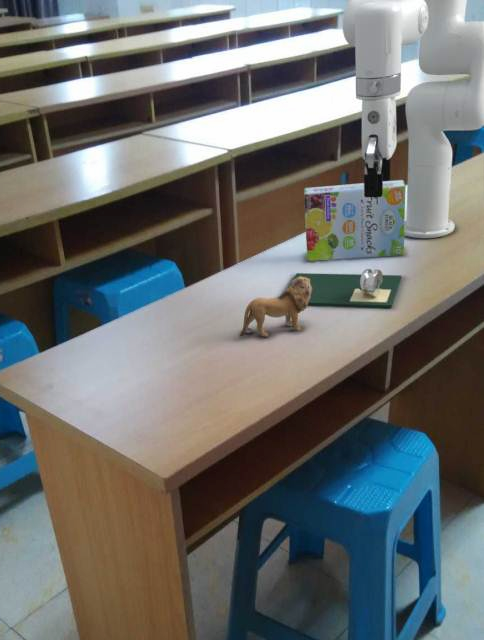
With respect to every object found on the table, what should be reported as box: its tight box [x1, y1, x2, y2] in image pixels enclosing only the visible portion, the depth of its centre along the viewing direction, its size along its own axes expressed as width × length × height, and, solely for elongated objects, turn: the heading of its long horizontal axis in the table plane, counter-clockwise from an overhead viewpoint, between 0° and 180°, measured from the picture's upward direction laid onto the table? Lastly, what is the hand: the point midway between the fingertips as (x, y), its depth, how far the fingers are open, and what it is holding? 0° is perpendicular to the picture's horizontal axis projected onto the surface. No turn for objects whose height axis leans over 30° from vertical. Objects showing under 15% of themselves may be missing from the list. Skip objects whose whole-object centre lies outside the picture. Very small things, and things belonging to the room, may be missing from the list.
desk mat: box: [285, 272, 402, 309], centre depth 144 cm, size 15×22×1 cm
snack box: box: [303, 179, 407, 262], centre depth 156 cm, size 21×6×15 cm, turn 84°
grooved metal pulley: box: [360, 268, 384, 297], centre depth 138 cm, size 5×3×5 cm, turn 150°
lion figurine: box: [238, 277, 312, 338], centre depth 129 cm, size 15×5×9 cm, turn 110°
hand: (377, 188), depth 132 cm, fingers open, 9 cm apart
